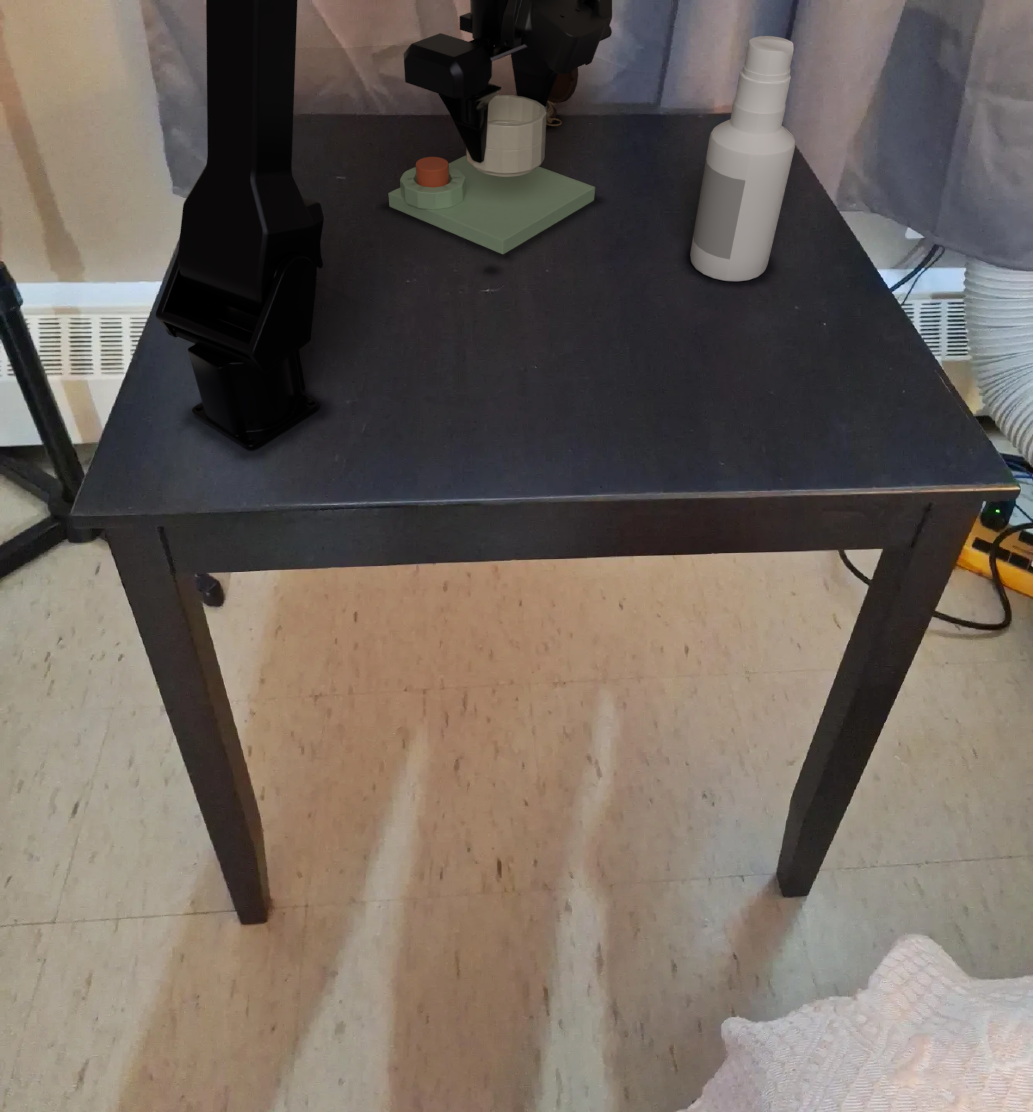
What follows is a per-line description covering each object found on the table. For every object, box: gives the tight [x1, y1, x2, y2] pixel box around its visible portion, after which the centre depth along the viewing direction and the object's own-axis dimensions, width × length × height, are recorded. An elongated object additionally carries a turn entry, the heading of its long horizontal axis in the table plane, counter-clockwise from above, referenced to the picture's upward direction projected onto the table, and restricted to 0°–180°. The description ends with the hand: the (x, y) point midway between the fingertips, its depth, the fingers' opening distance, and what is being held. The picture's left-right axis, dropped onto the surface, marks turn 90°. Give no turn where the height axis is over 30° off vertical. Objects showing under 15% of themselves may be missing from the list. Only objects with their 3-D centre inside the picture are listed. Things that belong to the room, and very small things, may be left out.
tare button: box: [415, 156, 449, 187], centre depth 87 cm, size 3×3×2 cm
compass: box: [545, 67, 579, 127], centre depth 102 cm, size 8×8×7 cm
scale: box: [388, 155, 596, 255], centre depth 89 cm, size 14×14×3 cm
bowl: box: [465, 94, 547, 177], centre depth 82 cm, size 7×7×4 cm
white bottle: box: [689, 35, 796, 282], centre depth 77 cm, size 7×7×18 cm
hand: (504, 148), depth 83 cm, fingers closed on bowl, 7 cm apart
